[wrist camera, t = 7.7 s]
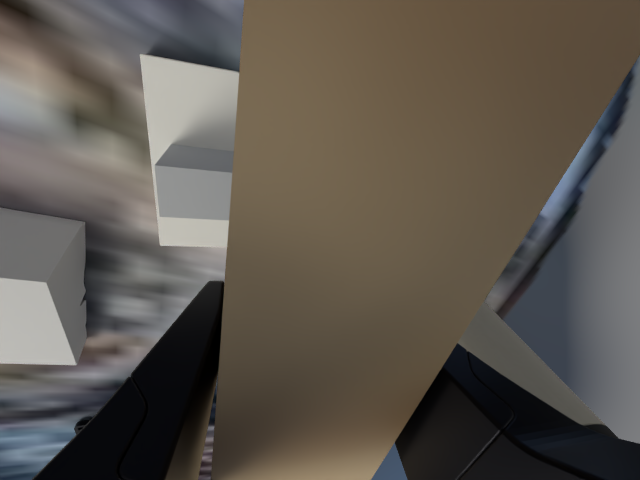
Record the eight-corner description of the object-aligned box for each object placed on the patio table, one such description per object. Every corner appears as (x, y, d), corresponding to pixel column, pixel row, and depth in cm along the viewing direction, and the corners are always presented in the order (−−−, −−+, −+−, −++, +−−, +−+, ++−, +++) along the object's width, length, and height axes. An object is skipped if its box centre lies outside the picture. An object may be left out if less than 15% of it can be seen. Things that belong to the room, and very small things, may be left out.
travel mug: (416, 261, 25) (677, 570, 10) (480, 280, 28) (752, 536, 13) (371, 327, 28) (517, 635, 13) (433, 337, 31) (608, 596, 16)
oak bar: (257, -175, 5) (338, -1359, 1) (455, -81, 6) (905, -364, 2) (215, 424, 14) (203, 586, 9) (300, 415, 15) (322, 555, 11)
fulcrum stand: (341, 243, 22) (361, 281, 18) (163, 237, 19) (144, 282, 15) (377, 97, 17) (415, 109, 14) (145, 54, 14) (111, 53, 10)
